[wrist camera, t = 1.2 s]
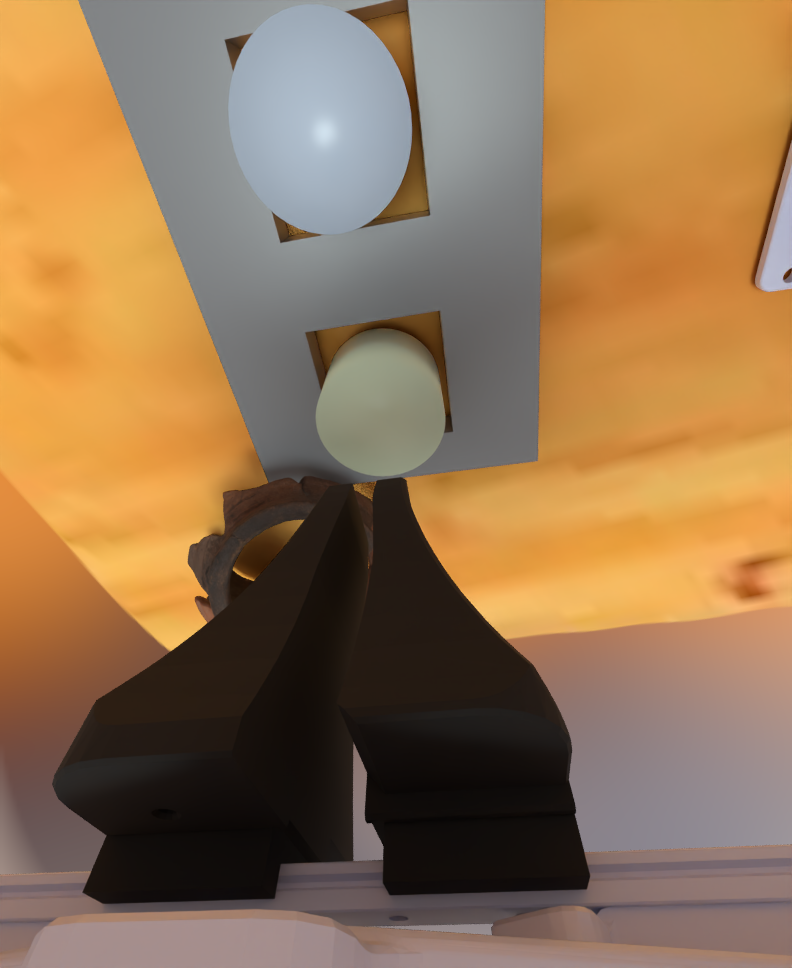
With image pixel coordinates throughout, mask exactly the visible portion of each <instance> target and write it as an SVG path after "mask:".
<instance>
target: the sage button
mask: <svg viewBox="0 0 792 968" xmlns="http://www.w3.org/2000/svg"><path fill="white" fill-rule="evenodd" d="M316 426H317V431H318V434H319V436H320V439H321V441H322V443H323V445H324V446H325V448H326V449H327V450H328V452H329V453H330V454H331V455H332V456H333V457H334V458H335V459H336V460H337V461H339V462H340V463H341V464H343V465H344V466H346V467H348V468H350V469H352V470H354V471H357V472H359V473H363V474H366V475H372V476H393V475H398V474H402V473H405V472H408V471H410V470H413V469H415V468H416V467H418V466H420V465H421V464H422V463H424V462H425V461H426V460H427V459H428V458H429V457H431V456H432V454H433V453H434V452H435V451H436V449H437V447H438V446H439V444H440V442H441V440H442V437H443V434H444V430H445V410H444V403H443V396H442V390H441V383H440V377H439V371H438V367H437V364H436V362H435V360H434V358H433V356H432V354H431V353H430V352H429V350H428V349H427V348H426V347H425V346H424V345H423V344H422V343H421V342H420V341H419V340H417V339H416V338H414V337H413V336H411V335H409V334H407V333H405V332H402V331H398V330H394V329H386V328H379V329H371V330H367V331H364V332H361V333H359V334H357V335H355V336H353V337H351V338H350V339H349V340H347V341H346V342H345V343H344V344H343V345H342V346H341V347H340V348H339V349H338V351H337V352H336V354H335V356H334V357H333V359H332V362H331V364H330V367H329V370H328V373H327V376H326V379H325V382H324V385H323V388H322V391H321V394H320V397H319V400H318V403H317V408H316Z"/></svg>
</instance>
